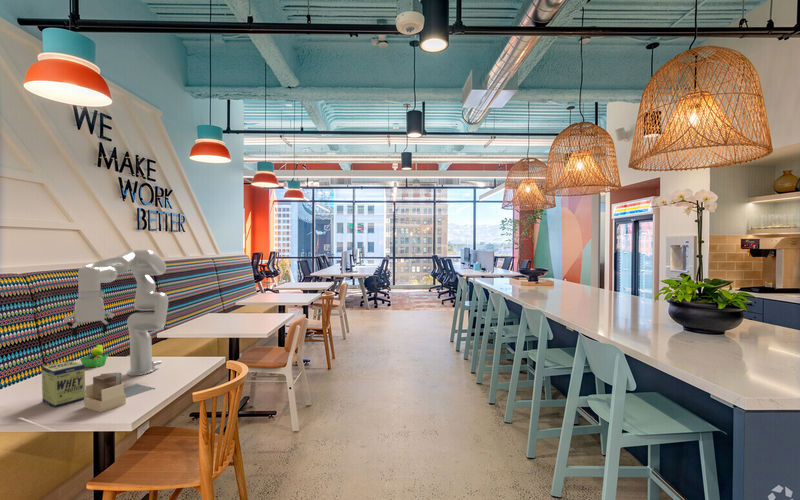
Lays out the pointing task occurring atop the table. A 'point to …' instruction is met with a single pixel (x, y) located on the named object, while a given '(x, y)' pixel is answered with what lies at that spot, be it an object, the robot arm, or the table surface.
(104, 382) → the walnut block
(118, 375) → the ceramic mug
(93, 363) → the fruit basket
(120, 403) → the beige open box
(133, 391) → the rubber mat
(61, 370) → the protein box
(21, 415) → the table surface
